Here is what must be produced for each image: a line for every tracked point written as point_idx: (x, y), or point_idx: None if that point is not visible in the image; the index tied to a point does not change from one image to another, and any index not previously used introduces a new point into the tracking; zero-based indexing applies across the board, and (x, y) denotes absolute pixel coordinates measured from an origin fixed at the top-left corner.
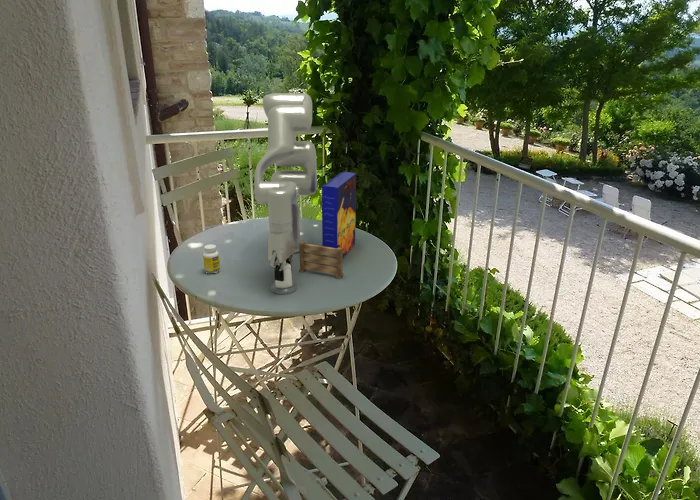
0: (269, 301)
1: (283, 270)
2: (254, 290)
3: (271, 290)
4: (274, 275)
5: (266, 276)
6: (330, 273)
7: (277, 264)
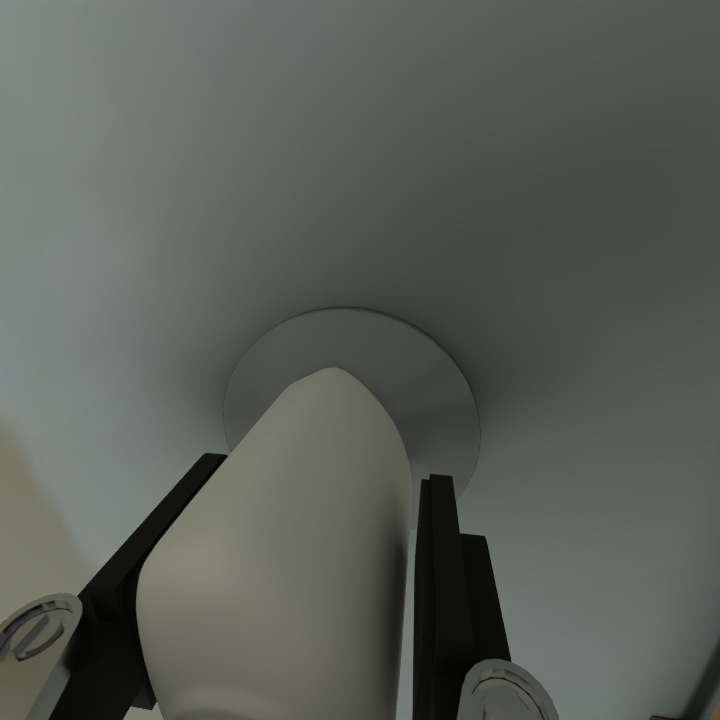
0: (103, 410)
1: (153, 703)
2: (181, 175)
3: (244, 355)
4: (170, 491)
5: (574, 98)
6: (713, 714)
7: (187, 659)
